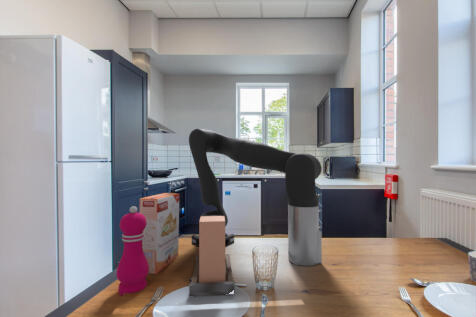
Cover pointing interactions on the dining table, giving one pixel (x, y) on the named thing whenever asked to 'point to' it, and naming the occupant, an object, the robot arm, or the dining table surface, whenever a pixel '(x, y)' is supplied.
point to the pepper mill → (132, 254)
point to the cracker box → (160, 229)
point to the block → (211, 249)
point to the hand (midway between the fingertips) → (212, 249)
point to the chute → (212, 287)
